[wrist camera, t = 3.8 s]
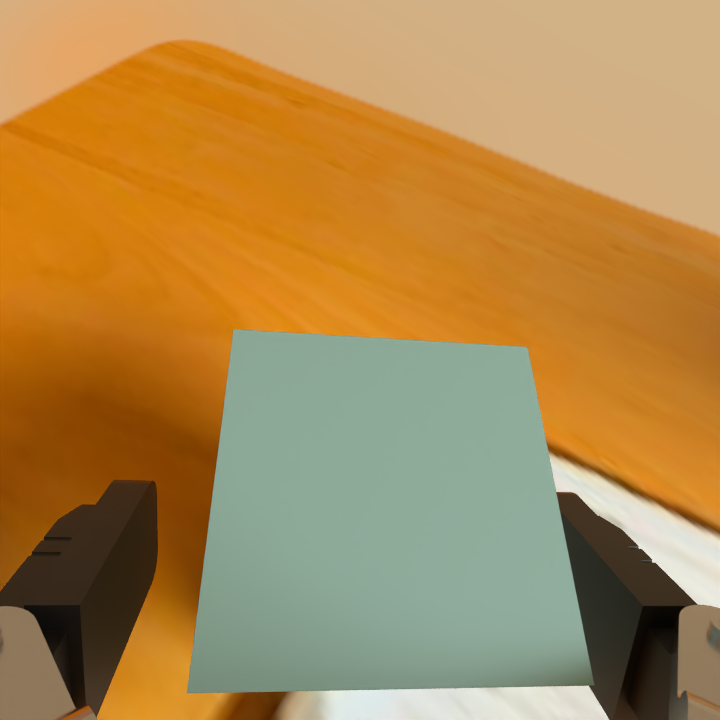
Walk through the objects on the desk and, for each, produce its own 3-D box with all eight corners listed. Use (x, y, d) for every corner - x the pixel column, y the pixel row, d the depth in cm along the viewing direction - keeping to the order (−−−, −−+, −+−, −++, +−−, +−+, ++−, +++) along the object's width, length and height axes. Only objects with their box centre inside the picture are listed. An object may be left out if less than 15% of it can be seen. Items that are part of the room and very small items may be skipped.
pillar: (395, 515, 18) (527, 347, 8) (402, 671, 15) (594, 685, 6) (259, 512, 17) (233, 329, 8) (246, 673, 15) (186, 692, 5)
